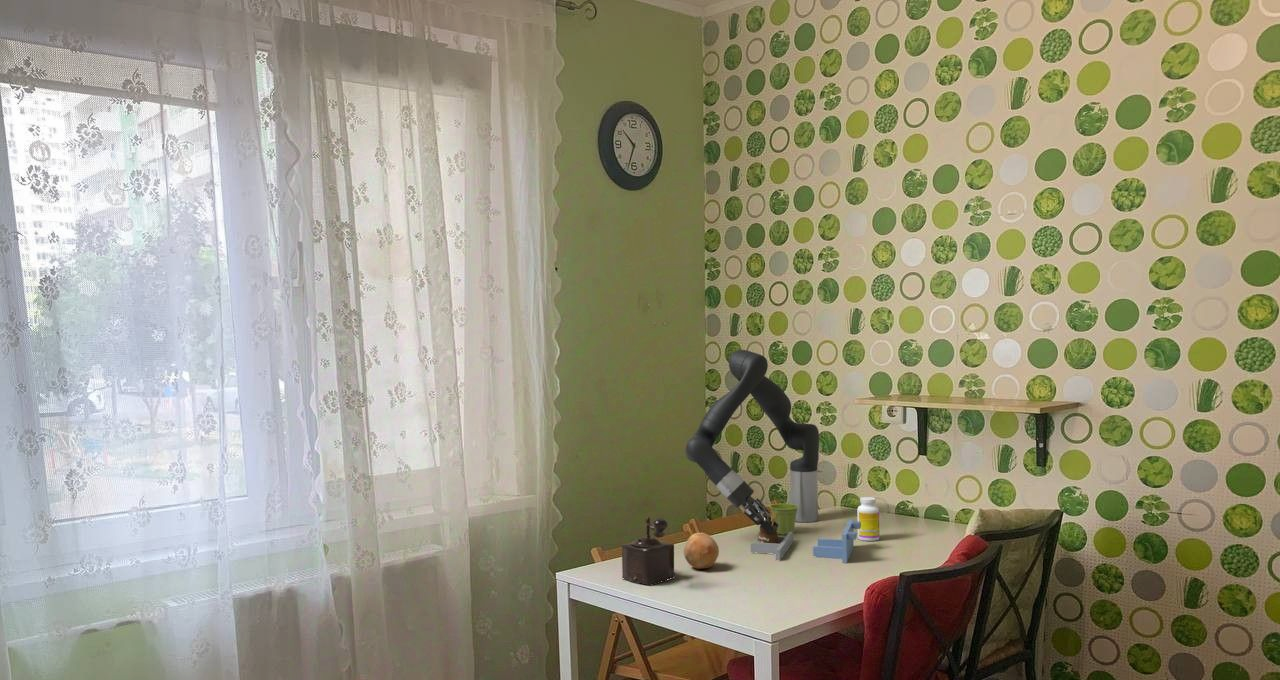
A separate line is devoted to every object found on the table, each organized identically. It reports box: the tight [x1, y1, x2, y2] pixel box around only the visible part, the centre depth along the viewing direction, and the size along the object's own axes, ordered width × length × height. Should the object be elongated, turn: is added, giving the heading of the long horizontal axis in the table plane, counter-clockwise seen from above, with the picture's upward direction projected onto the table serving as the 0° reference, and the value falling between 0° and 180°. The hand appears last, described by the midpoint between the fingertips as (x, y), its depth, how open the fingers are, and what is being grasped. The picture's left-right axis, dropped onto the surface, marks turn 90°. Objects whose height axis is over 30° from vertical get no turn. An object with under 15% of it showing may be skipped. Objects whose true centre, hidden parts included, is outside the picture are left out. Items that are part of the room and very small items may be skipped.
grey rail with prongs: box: [750, 532, 794, 561], centre depth 276 cm, size 10×24×3 cm, turn 161°
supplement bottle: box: [856, 496, 880, 542], centre depth 286 cm, size 7×7×13 cm
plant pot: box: [768, 503, 799, 535], centre depth 298 cm, size 9×9×9 cm
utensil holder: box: [758, 512, 779, 544], centre depth 276 cm, size 6×6×12 cm
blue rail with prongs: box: [812, 519, 861, 564], centre depth 269 cm, size 12×20×8 cm, turn 162°
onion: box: [683, 532, 720, 570], centre depth 256 cm, size 10×10×10 cm
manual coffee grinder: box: [621, 516, 675, 586], centre depth 245 cm, size 16×11×18 cm
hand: (774, 529), depth 275 cm, fingers closed on utensil holder, 5 cm apart
